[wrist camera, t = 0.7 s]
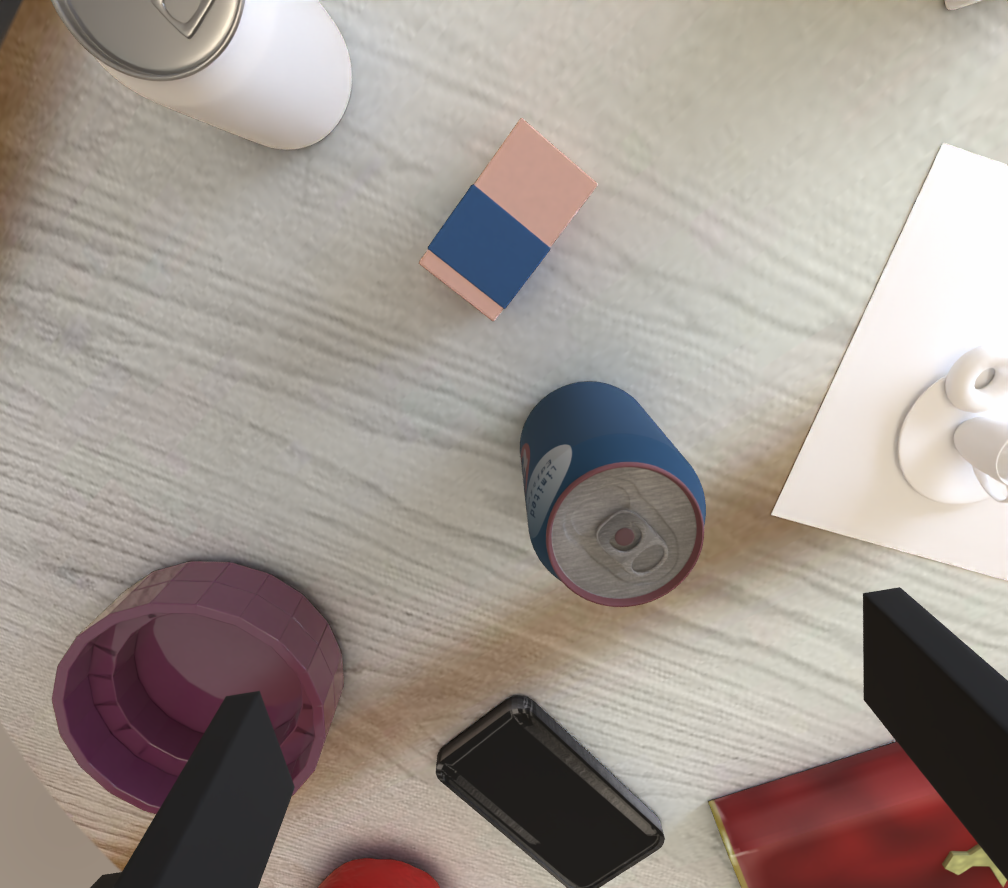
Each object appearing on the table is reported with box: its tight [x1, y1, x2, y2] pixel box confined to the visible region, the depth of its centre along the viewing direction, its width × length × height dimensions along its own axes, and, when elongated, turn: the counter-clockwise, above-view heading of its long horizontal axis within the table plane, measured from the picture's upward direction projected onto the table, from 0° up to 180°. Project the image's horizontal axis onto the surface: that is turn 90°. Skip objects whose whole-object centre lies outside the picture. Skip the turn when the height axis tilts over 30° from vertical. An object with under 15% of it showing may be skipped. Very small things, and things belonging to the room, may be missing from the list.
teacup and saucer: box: [897, 342, 1008, 506], centre depth 32 cm, size 9×8×4 cm
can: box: [51, 0, 352, 150], centre depth 23 cm, size 6×6×12 cm
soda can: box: [520, 381, 706, 607], centre depth 29 cm, size 7×7×12 cm
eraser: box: [419, 118, 598, 321], centre depth 28 cm, size 4×7×5 cm, turn 142°
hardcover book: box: [708, 742, 1008, 888], centre depth 41 cm, size 12×21×4 cm, turn 112°
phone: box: [436, 696, 665, 888], centre depth 41 cm, size 8×1×15 cm
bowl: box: [52, 561, 344, 814], centre depth 36 cm, size 14×14×5 cm
